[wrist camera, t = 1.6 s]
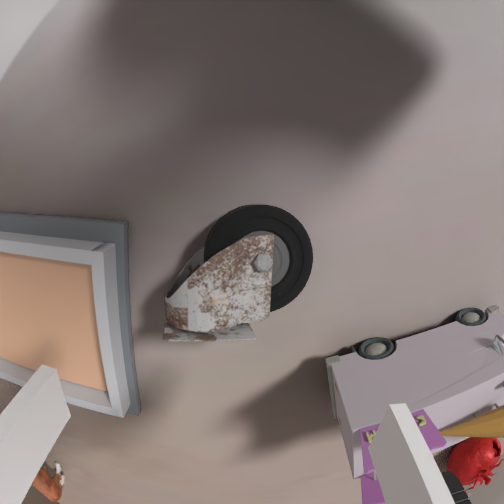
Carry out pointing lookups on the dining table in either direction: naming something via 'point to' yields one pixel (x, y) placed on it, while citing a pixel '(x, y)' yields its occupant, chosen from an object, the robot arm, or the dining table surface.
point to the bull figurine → (49, 483)
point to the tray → (68, 308)
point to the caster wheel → (239, 276)
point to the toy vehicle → (421, 387)
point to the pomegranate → (474, 459)
